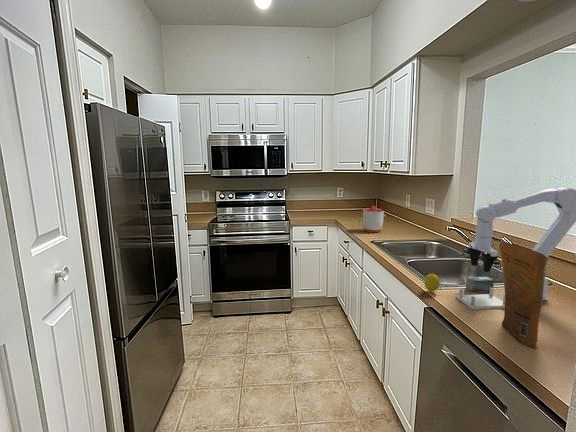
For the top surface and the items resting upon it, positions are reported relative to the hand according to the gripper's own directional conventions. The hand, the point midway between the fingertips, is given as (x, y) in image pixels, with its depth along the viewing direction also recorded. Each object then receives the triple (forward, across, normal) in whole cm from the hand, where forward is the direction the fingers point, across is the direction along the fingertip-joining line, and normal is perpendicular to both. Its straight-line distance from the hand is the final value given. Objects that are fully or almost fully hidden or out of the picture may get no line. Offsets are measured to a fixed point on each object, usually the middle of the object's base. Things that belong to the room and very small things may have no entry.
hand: (480, 268), depth 131 cm
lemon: (+10, 0, -20) cm, 22 cm away
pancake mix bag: (+10, +33, -11) cm, 36 cm away
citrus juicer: (+9, -115, -5) cm, 115 cm away
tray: (+9, +11, -6) cm, 16 cm away
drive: (+10, -1, +1) cm, 10 cm away
